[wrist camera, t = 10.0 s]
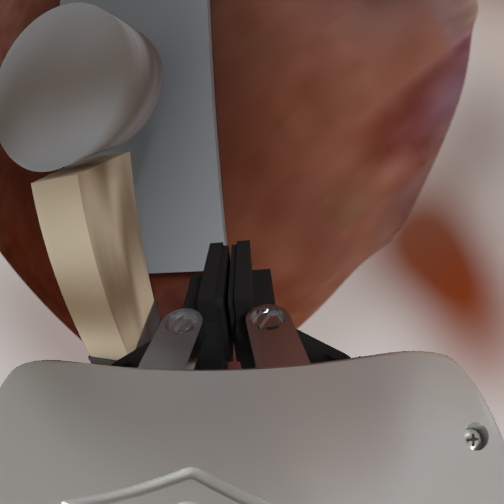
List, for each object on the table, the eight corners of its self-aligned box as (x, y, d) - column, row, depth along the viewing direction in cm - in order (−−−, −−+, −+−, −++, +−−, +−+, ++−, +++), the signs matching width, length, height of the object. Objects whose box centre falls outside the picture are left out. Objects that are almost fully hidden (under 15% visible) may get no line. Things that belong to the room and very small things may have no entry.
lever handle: (59, 49, 9) (-5, 40, 5) (168, 19, 9) (128, -22, 5) (101, 315, 17) (72, 371, 13) (189, 320, 17) (175, 386, 13)
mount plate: (75, -26, 9) (45, -43, 5) (208, -65, 9) (201, -97, 5) (102, 265, 20) (78, 297, 16) (228, 258, 20) (225, 295, 16)
